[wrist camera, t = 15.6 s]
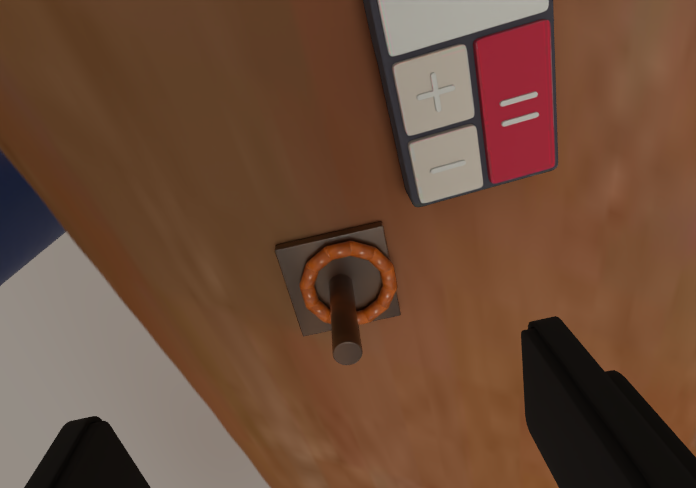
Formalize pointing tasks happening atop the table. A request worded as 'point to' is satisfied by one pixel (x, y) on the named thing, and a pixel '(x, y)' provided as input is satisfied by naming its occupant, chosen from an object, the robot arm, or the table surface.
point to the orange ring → (340, 252)
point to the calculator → (467, 91)
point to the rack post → (337, 286)
